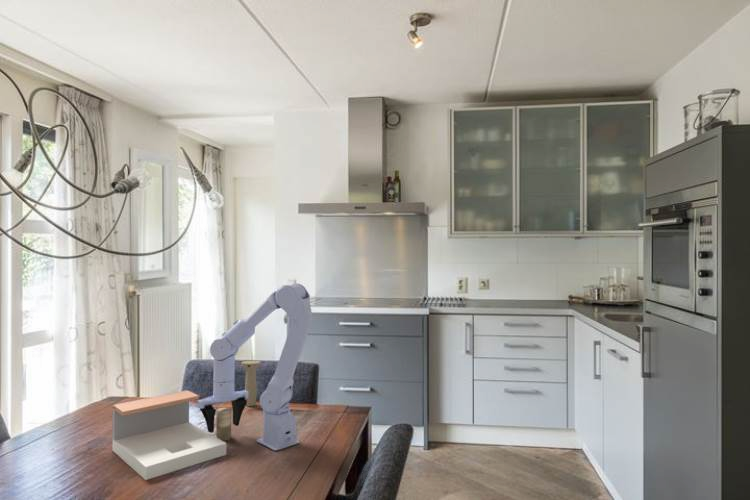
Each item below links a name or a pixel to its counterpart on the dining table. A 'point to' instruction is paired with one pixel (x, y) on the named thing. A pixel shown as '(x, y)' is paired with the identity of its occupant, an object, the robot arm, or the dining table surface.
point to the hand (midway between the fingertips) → (223, 428)
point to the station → (161, 435)
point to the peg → (223, 424)
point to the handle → (251, 381)
